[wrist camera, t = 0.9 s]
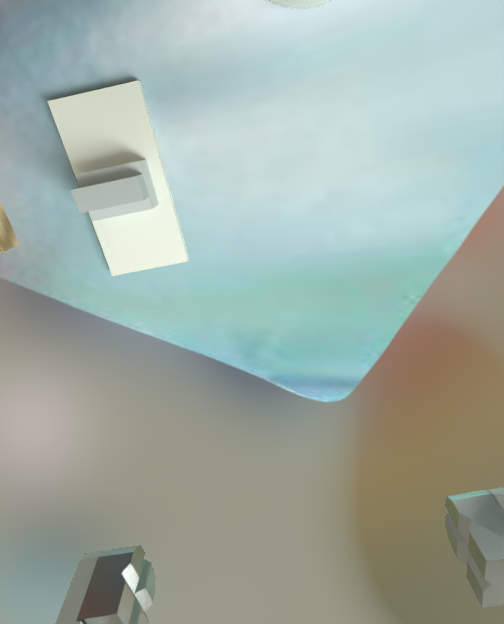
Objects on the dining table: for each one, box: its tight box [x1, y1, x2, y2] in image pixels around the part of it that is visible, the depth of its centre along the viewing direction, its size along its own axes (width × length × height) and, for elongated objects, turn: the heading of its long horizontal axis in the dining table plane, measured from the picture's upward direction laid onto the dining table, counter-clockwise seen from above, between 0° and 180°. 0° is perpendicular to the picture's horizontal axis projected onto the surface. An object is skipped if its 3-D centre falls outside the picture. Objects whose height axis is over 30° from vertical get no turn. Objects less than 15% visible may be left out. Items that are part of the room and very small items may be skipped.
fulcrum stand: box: [47, 81, 189, 276], centre depth 42 cm, size 20×10×7 cm, turn 11°
